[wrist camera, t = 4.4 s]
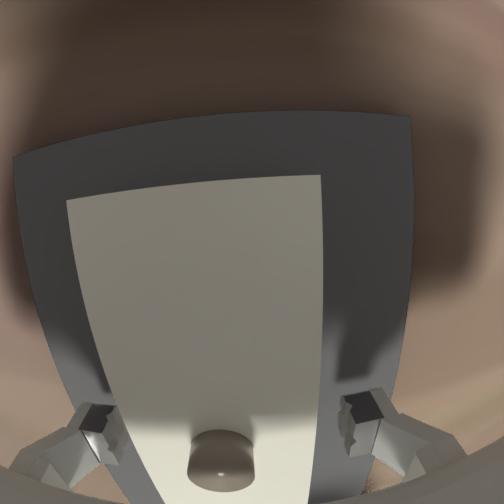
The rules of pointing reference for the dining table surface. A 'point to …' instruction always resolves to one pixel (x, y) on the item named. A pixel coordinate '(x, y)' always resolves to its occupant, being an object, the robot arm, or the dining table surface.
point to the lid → (210, 330)
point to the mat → (236, 167)
